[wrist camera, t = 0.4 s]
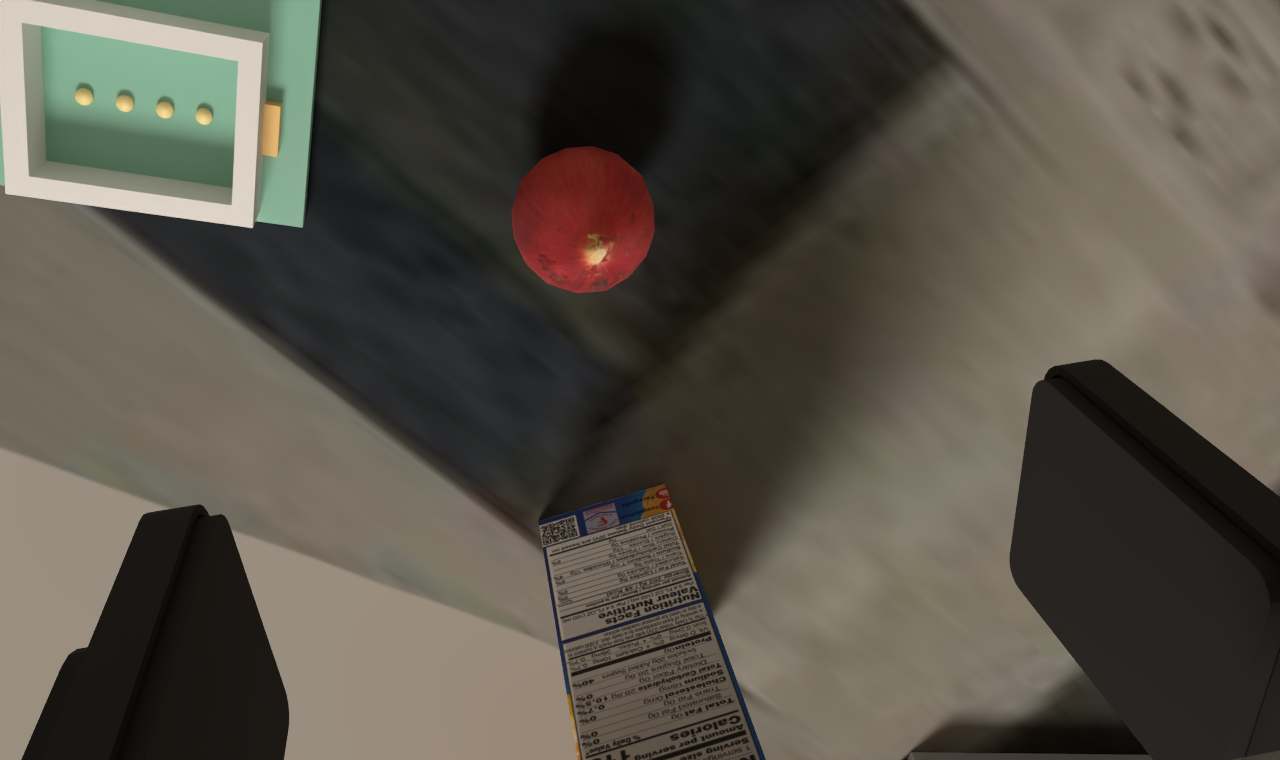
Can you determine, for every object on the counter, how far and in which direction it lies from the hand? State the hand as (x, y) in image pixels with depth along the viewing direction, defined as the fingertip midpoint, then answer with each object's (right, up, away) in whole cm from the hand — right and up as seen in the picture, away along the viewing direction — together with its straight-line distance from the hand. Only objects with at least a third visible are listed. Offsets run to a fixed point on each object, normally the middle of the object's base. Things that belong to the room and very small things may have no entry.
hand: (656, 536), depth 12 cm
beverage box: (-1, -9, +44) cm, 45 cm away
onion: (-3, +10, +33) cm, 35 cm away
